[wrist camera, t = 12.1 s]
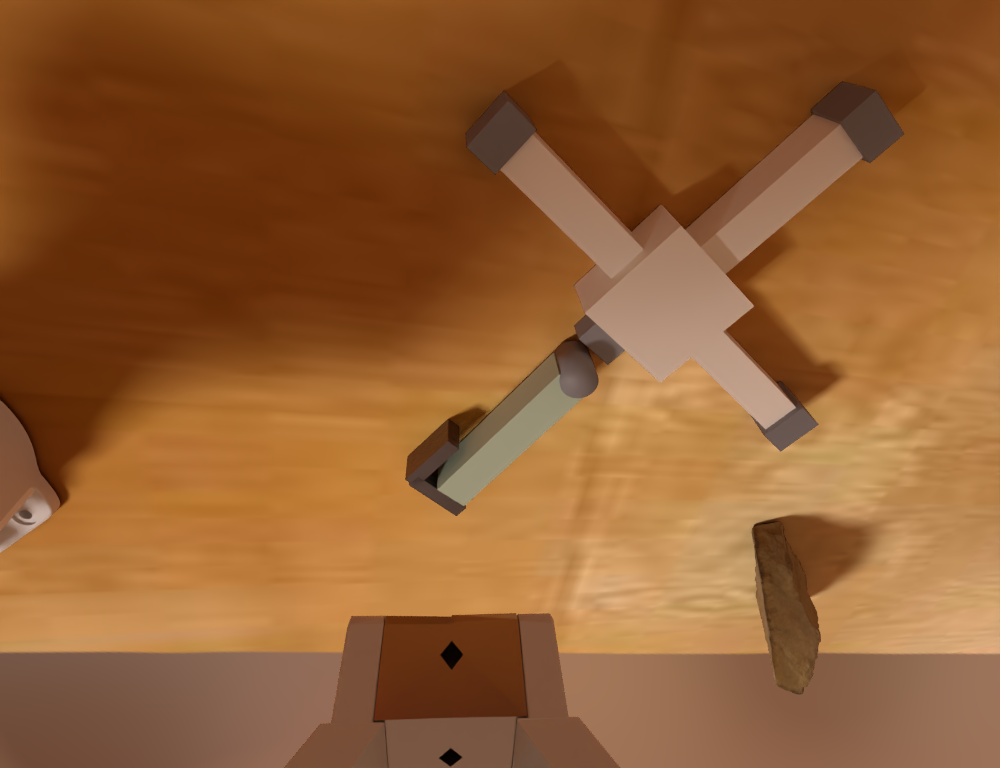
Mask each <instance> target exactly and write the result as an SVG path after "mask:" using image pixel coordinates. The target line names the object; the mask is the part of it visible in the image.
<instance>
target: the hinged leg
mask: <svg viewBox="0 0 1000 768" xmlns="http://www.w3.org/2000/svg"><path fill="white" fill-rule="evenodd" d="M597 385H598V375H597V372H596V370H595V367H594V364H593V361H592V358H591V356H590V353H589V350H588V348H587V347H586V346H585V345H584V344H583V343H581V342H579V341H567V342H564V343H563V344H561V345H560V346H559V347H558V348H557V349H556V350H555V352H553V353H552V354H551V355H550V356H549V357H548V358H547V359H546V360H545V361H544V362H543V363H542V364H541V365H540V366H539V367H538V368H537V369H536V370H535V371H534V372H533V373H532V374H531V375H530V376H528V377H527V378H526V379H525V380H524V381H523V382H522V383H521V384H520V385H519V386H518V387H517V388H516V389H515V390H514V391H513V392H512V393H511V394H510V395H509V396H508V397H507V398H506V399H505V400H504V401H503V402H502V403H501V404H500V405H499V406H498V407H496V408H495V409H494V410H493V411H492V412H491V413H490V414H489V415H488V416H487V417H486V418H485V419H484V420H483V421H482V422H481V423H480V424H479V425H478V426H477V427H476V428H475V429H474V430H473V431H472V432H471V433H470V434H469V435H468V436H467V437H466V438H464V439H463V440H462V441H461V442H460V443H459V450H458V451H457V452H455V453H454V454H453V455H452V456H451V457H450V458H449V459H448V460H446V461H445V462H444V463H443V464H442V465H441V466H440V467H439V468H438V481H437V490H438V491H440V492H442V493H443V494H445V495H447V496H448V497H450V498H451V499H453V500H455V501H456V502H458V503H460V504H461V505H463V506H465V505H466V504H467V503H468V502H469V501H470V500H471V499H472V498H474V497H475V496H476V495H477V494H478V493H479V492H480V491H481V490H482V489H483V488H485V487H486V486H487V485H488V484H489V483H490V482H491V481H492V480H493V479H494V478H496V477H497V476H498V475H499V474H500V473H501V472H502V471H503V470H504V469H505V468H507V467H508V466H509V465H510V464H511V463H512V462H513V461H514V460H515V459H516V458H517V457H519V456H520V455H521V454H522V453H523V452H524V451H525V450H526V449H527V448H528V447H530V446H531V445H532V444H533V443H534V442H535V441H536V440H537V439H538V438H539V437H541V436H542V435H543V434H544V433H545V432H546V431H547V430H548V429H549V428H550V427H552V426H553V425H554V424H555V423H556V422H557V421H558V420H559V419H560V418H561V417H563V416H564V415H565V414H566V413H567V412H568V411H569V410H570V409H571V408H572V407H573V406H575V405H576V404H577V403H578V402H579V401H580V400H581V399H582V398H583V397H586V396H588V395H590V394H591V393H593V392H594V390H595V389H596V387H597Z"/></svg>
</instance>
